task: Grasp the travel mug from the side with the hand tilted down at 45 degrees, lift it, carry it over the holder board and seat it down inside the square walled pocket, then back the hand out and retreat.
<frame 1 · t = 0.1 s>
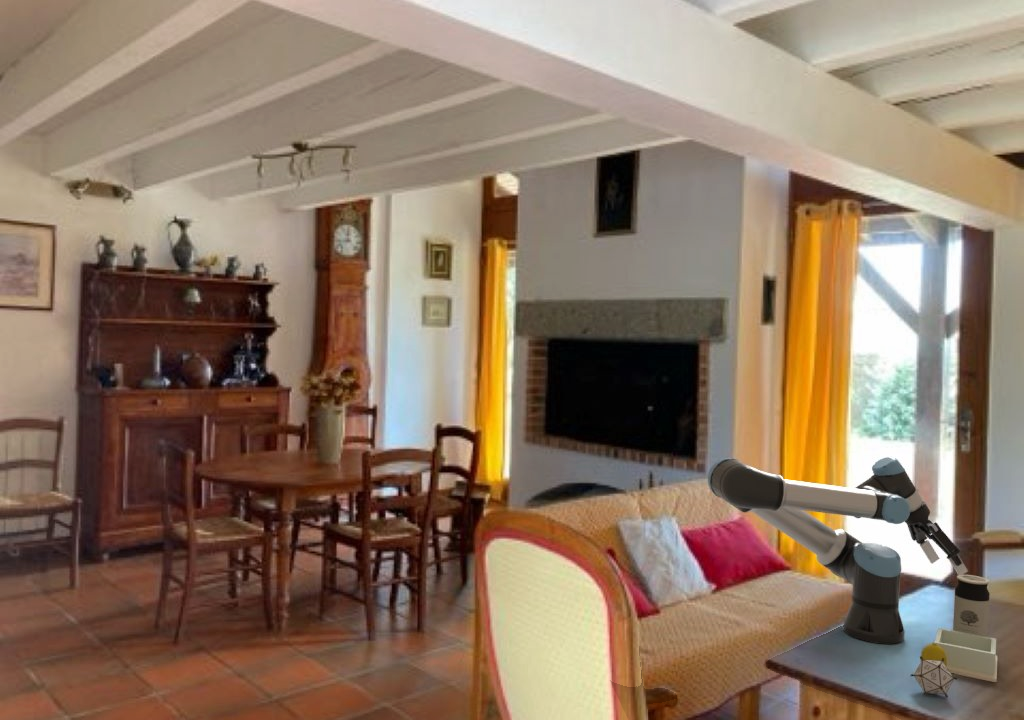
hand: (949, 567, 243), 15 cm above the table, tool tilted 35°, fingers open, 13 cm apart
game die: (932, 695, 189), on the table
travel mug: (969, 647, 222), on the table
lemon: (932, 677, 200), on the table
holder: (964, 663, 209), on the table
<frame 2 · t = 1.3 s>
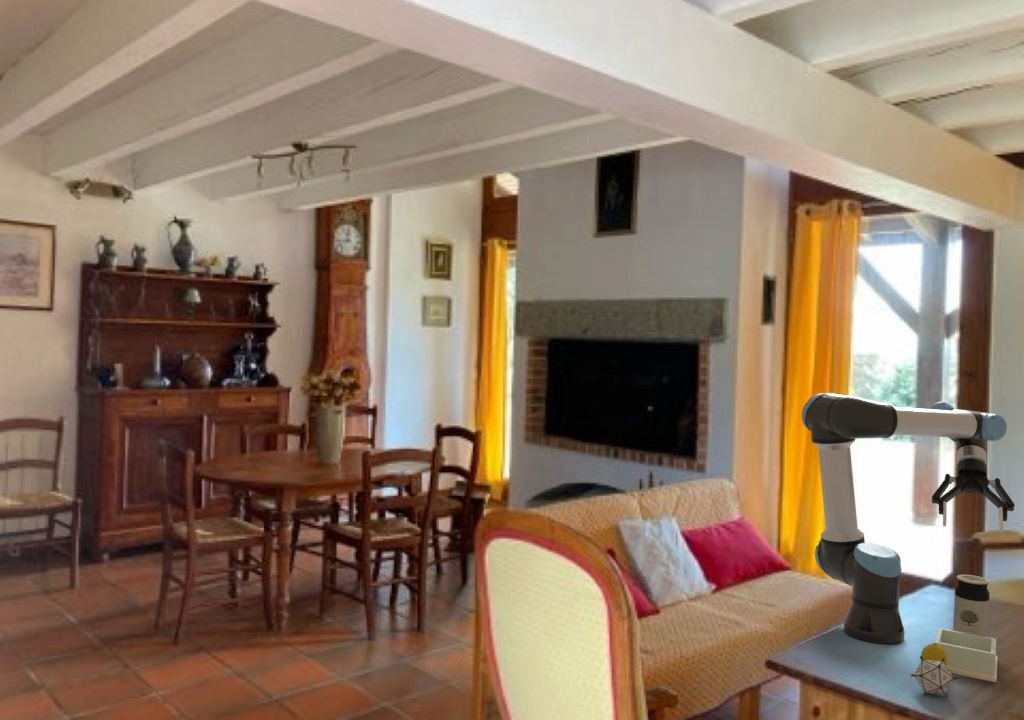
hand: (972, 526, 230), 30 cm above the table, tool tilted 45°, fingers open, 13 cm apart
nothing on the table moved.
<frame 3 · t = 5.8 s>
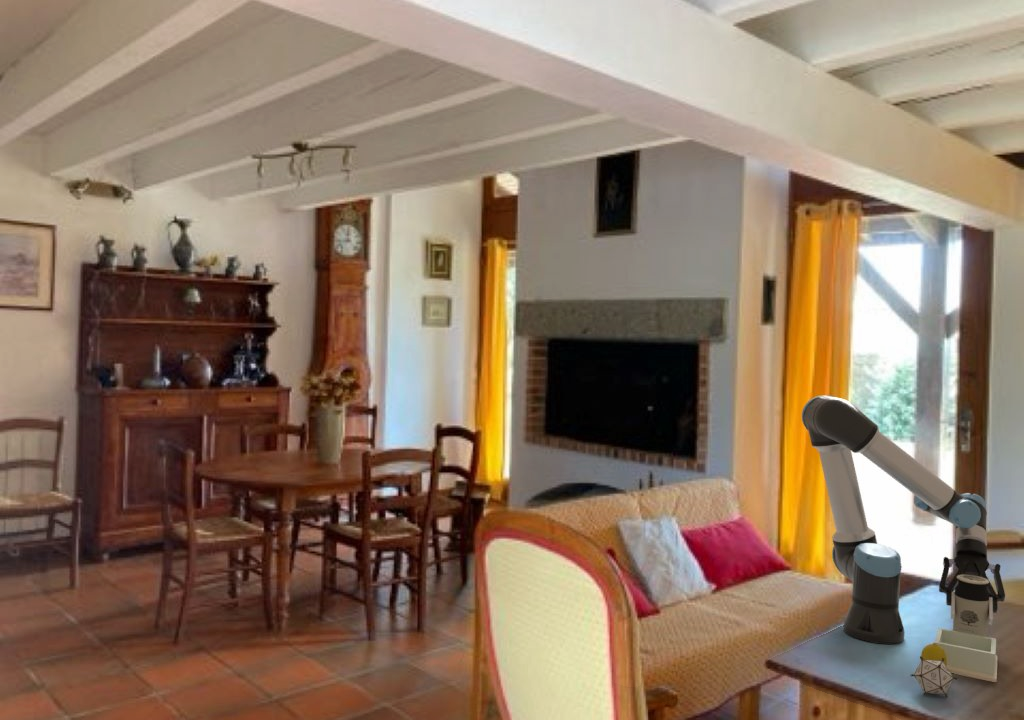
hand: (971, 619, 218), 8 cm above the table, tool tilted 45°, fingers closed on travel mug, 8 cm apart
travel mug: (969, 646, 222), on the table, touching gripper
everything else where it was.
when the fingers open (11 cm above the table, at t = 11.6 s): travel mug drops 2 cm, resting on holder.
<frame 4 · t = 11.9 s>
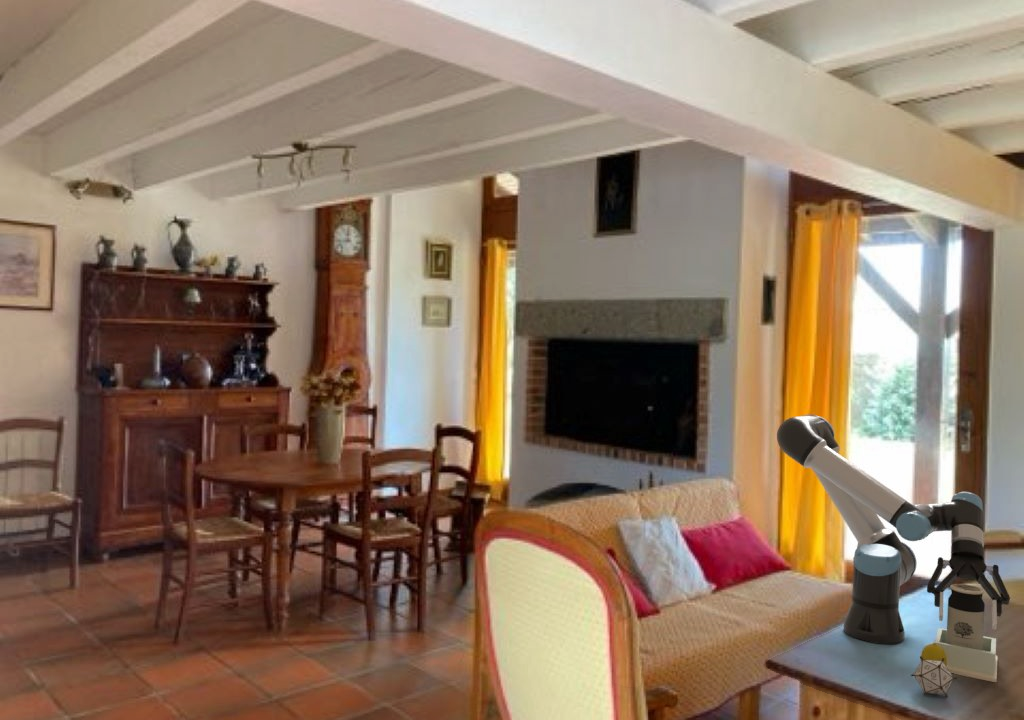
hand: (967, 622, 206), 11 cm above the table, tool tilted 45°, fingers open, 11 cm apart
travel mug: (963, 660, 209), point 1 cm above the table, touching holder
everything else where it was.
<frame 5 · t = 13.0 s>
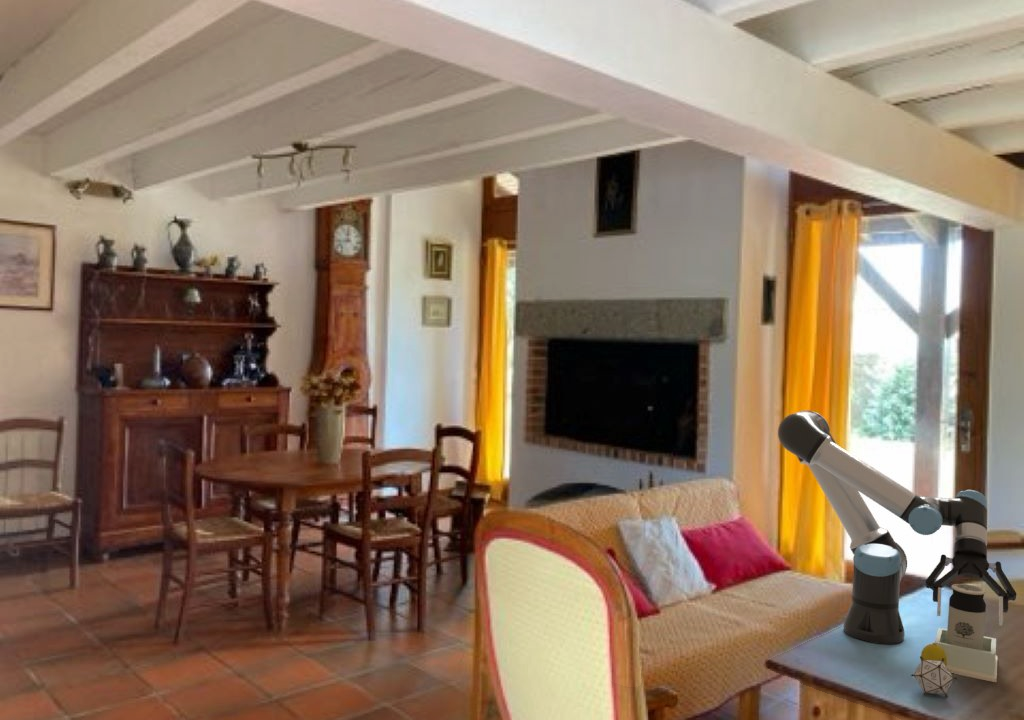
hand: (969, 618, 209), 11 cm above the table, tool tilted 45°, fingers open, 13 cm apart
nothing on the table moved.
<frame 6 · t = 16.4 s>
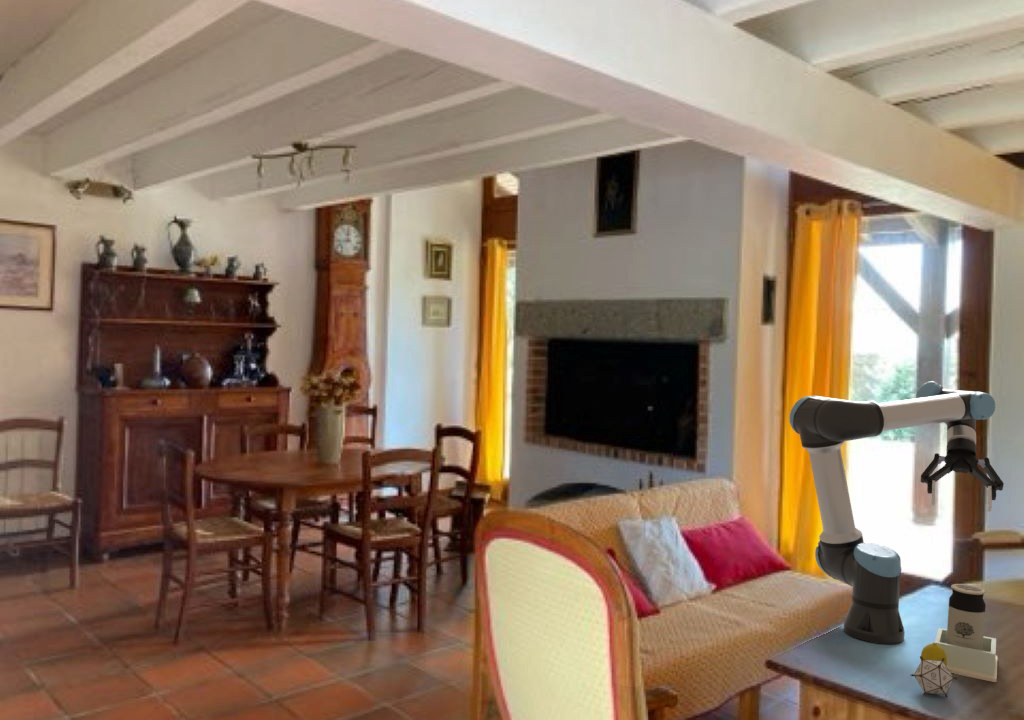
hand: (961, 505, 229), 36 cm above the table, tool tilted 45°, fingers open, 13 cm apart
nothing on the table moved.
at the end: travel mug 0.3 cm from the holder (horizontally); travel mug tilted 0°; the gripper is holding nothing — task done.
